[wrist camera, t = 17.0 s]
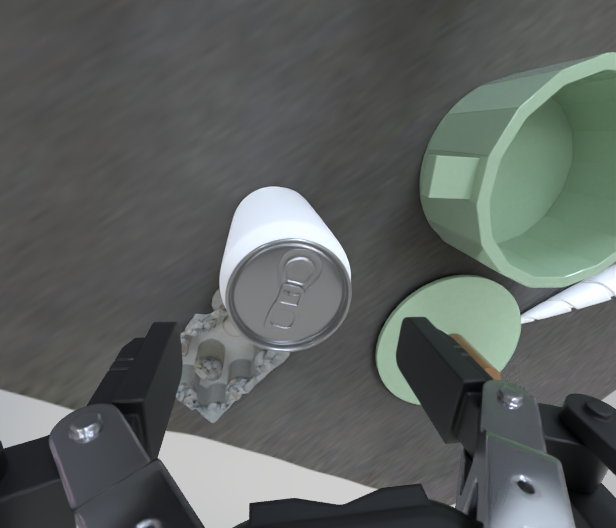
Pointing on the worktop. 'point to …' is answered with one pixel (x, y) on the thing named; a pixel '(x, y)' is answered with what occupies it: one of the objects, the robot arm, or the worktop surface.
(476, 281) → the pan lid
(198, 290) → the worktop surface
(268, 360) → the egg carton
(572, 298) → the unicorn horn
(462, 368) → the robot arm
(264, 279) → the can
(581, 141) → the pan
